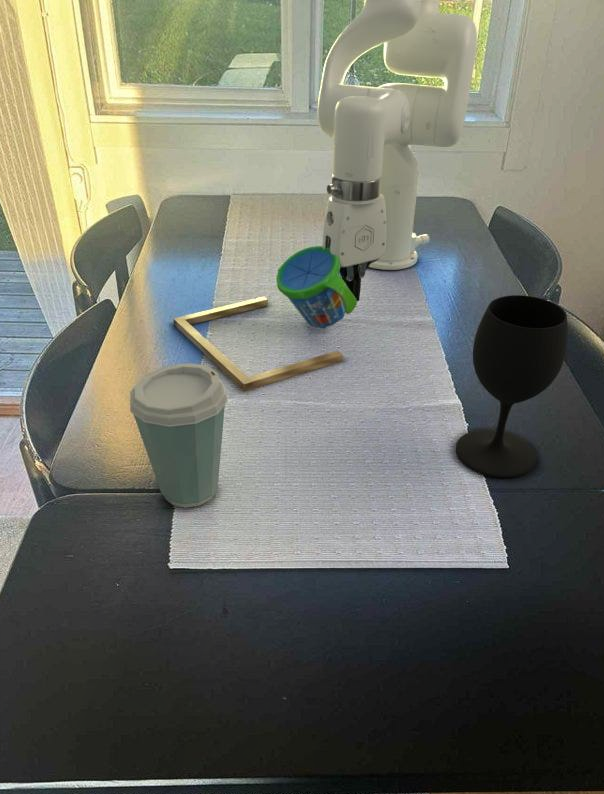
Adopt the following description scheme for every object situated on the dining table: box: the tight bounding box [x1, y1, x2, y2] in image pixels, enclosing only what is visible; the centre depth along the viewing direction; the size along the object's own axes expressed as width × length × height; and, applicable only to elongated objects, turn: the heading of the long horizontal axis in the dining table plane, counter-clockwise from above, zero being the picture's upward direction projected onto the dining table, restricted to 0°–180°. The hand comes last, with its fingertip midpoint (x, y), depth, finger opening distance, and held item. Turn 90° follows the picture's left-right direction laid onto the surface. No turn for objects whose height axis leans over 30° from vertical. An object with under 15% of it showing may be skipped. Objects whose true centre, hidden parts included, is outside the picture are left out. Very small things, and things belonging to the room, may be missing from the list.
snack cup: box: [275, 245, 358, 329], centre depth 115 cm, size 16×10×10 cm
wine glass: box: [454, 294, 569, 479], centre depth 85 cm, size 10×10×20 cm
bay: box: [172, 296, 344, 392], centre depth 114 cm, size 18×25×1 cm
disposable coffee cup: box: [129, 362, 229, 509], centre depth 80 cm, size 11×11×15 cm
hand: (350, 299), depth 120 cm, fingers closed
